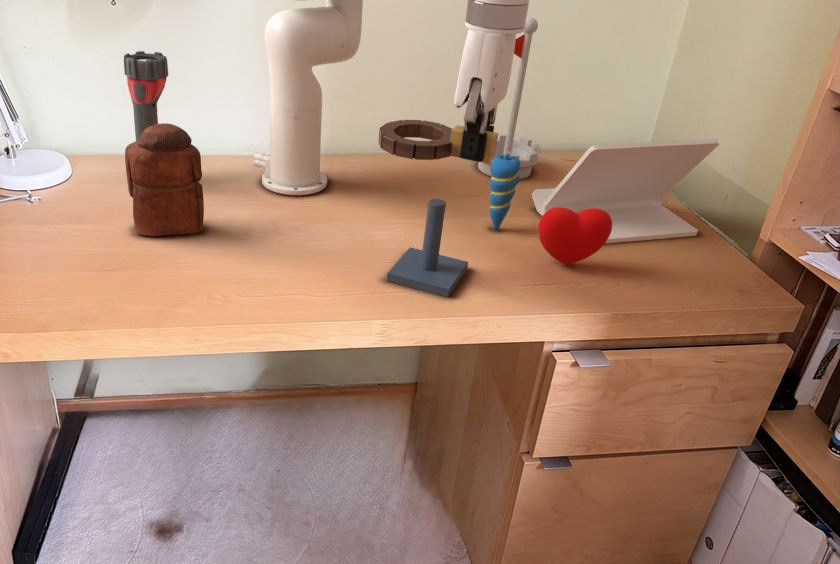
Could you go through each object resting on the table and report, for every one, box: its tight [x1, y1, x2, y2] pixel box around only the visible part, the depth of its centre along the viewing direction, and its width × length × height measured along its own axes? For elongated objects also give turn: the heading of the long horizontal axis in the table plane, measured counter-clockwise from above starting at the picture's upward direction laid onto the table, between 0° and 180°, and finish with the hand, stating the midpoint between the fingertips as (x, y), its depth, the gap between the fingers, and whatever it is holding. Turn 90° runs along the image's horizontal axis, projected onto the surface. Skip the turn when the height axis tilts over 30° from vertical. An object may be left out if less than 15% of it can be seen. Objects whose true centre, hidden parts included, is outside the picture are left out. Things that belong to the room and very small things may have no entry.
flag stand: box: [477, 17, 542, 180], centre depth 155 cm, size 13×13×30 cm
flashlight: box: [123, 50, 169, 141], centre depth 143 cm, size 8×8×23 cm
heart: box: [537, 207, 612, 266], centre depth 126 cm, size 12×5×10 cm, turn 92°
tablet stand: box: [531, 138, 720, 244], centre depth 140 cm, size 18×25×17 cm
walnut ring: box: [377, 119, 500, 164], centre depth 109 cm, size 16×11×4 cm, turn 65°
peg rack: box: [386, 198, 469, 298], centre depth 119 cm, size 10×10×12 cm
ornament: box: [489, 148, 520, 231], centre depth 134 cm, size 5×5×15 cm
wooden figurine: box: [124, 122, 205, 237], centre depth 127 cm, size 12×6×18 cm, turn 106°
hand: (475, 154), depth 108 cm, fingers closed on walnut ring, 2 cm apart
